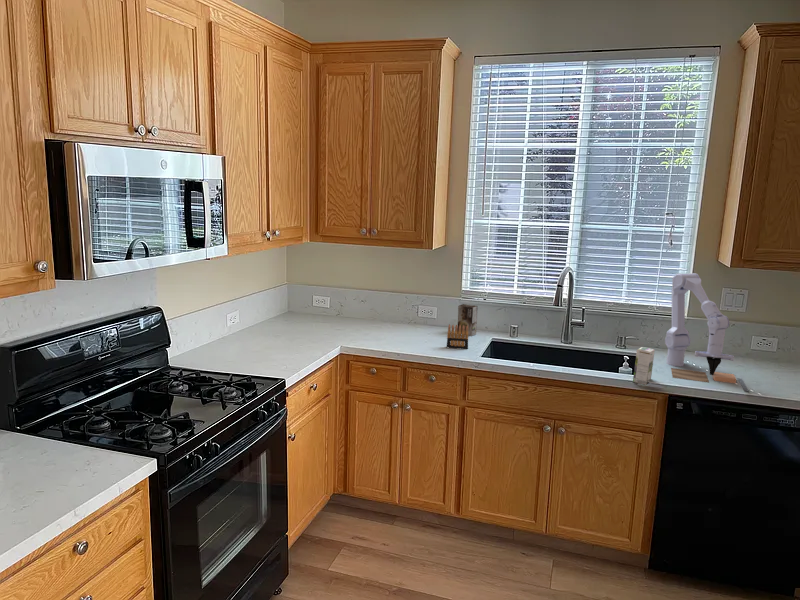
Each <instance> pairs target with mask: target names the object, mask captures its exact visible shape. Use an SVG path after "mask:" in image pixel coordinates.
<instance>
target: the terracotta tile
mask: <svg viewBox="0 0 800 600" xmlns="http://www.w3.org/2000/svg"><path fill="white" fill-rule="evenodd" d="M711 376H712V378H713V381H715V382H722V383H731V384H736V382H737V378H736V376H735V374H734V373H733V374H732V373H725V372H720V371H715V372H714V375H711Z"/></svg>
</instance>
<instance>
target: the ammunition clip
mask: <svg viewBox="0 0 800 600" xmlns="http://www.w3.org/2000/svg"><path fill="white" fill-rule="evenodd" d="M446 335H447V336H446V337H447V338H446V348H447V347H449V348H448V349H457V348H461V349H462V350H468V349H469V336H468V325H467V327H466V333H465V327H464V325H463V328H462V335H461V325H460V326H459V331H458V324H456V325H454V324H452V325H451V324H448V327H447V334H446Z"/></svg>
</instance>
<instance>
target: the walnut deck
mask: <svg viewBox="0 0 800 600" xmlns="http://www.w3.org/2000/svg"><path fill="white" fill-rule="evenodd" d="M670 371H671V376H672V379H680V380H687V381H694V382H702V383H709V384H710V381H709V377H708V375H707V373H706V372H705V371H698V370H691V369H683V368H677V367H670Z"/></svg>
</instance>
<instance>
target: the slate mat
mask: <svg viewBox="0 0 800 600" xmlns="http://www.w3.org/2000/svg"><path fill="white" fill-rule="evenodd" d="M736 380H737V381H738V382H739V384H740V387H741V389H742V390H743V392H745V393H750V390H749V388H748V387H747V385H746V384H745V381H744V379H743V378H740V377H738V378H736Z"/></svg>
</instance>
